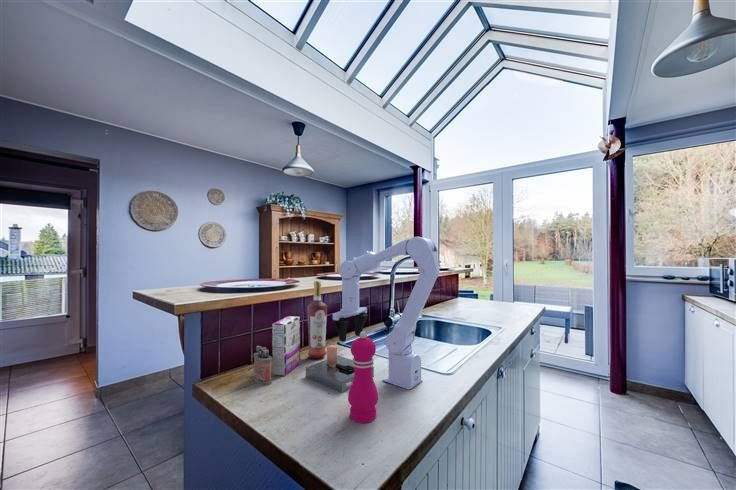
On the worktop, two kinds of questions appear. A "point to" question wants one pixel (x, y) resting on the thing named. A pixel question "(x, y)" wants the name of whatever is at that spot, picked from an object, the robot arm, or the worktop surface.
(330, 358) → the peg
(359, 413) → the pepper mill
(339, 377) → the keyhole plate
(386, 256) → the robot arm
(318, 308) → the liquor
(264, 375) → the lighter
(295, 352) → the candy bar box
